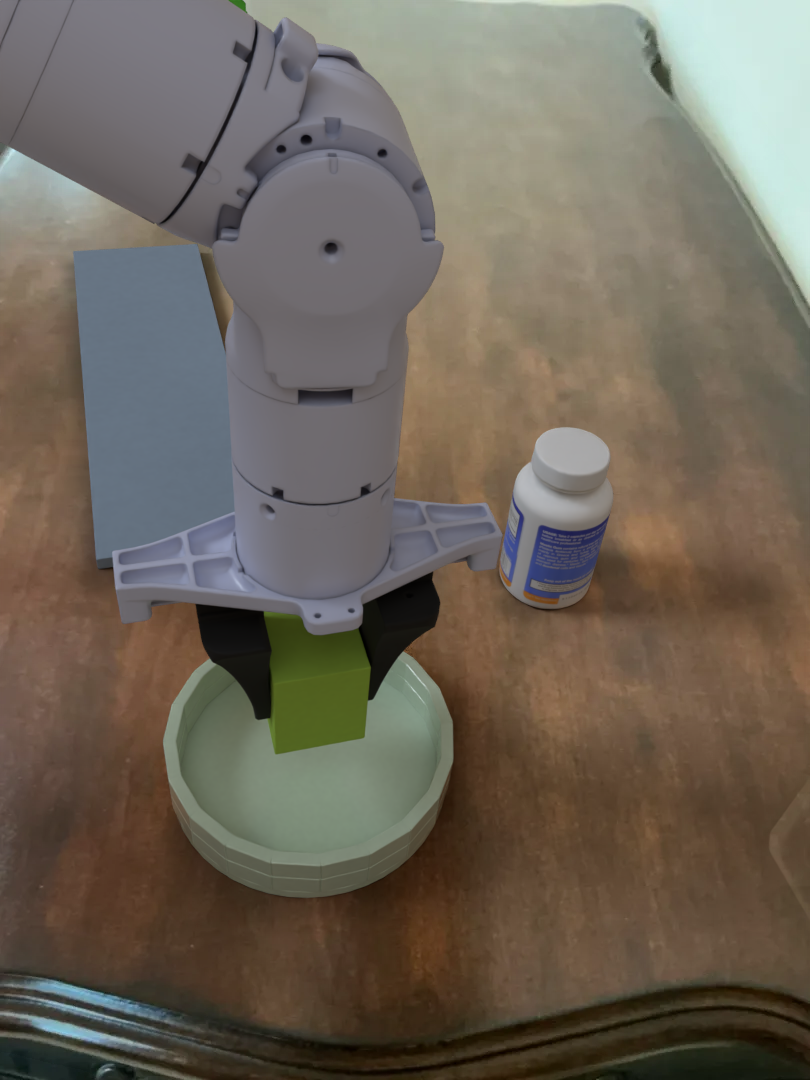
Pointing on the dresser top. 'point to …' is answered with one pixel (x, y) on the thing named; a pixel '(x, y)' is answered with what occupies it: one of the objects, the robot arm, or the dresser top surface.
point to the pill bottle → (557, 519)
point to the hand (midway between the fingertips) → (310, 692)
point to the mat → (152, 395)
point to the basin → (308, 785)
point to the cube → (315, 685)
